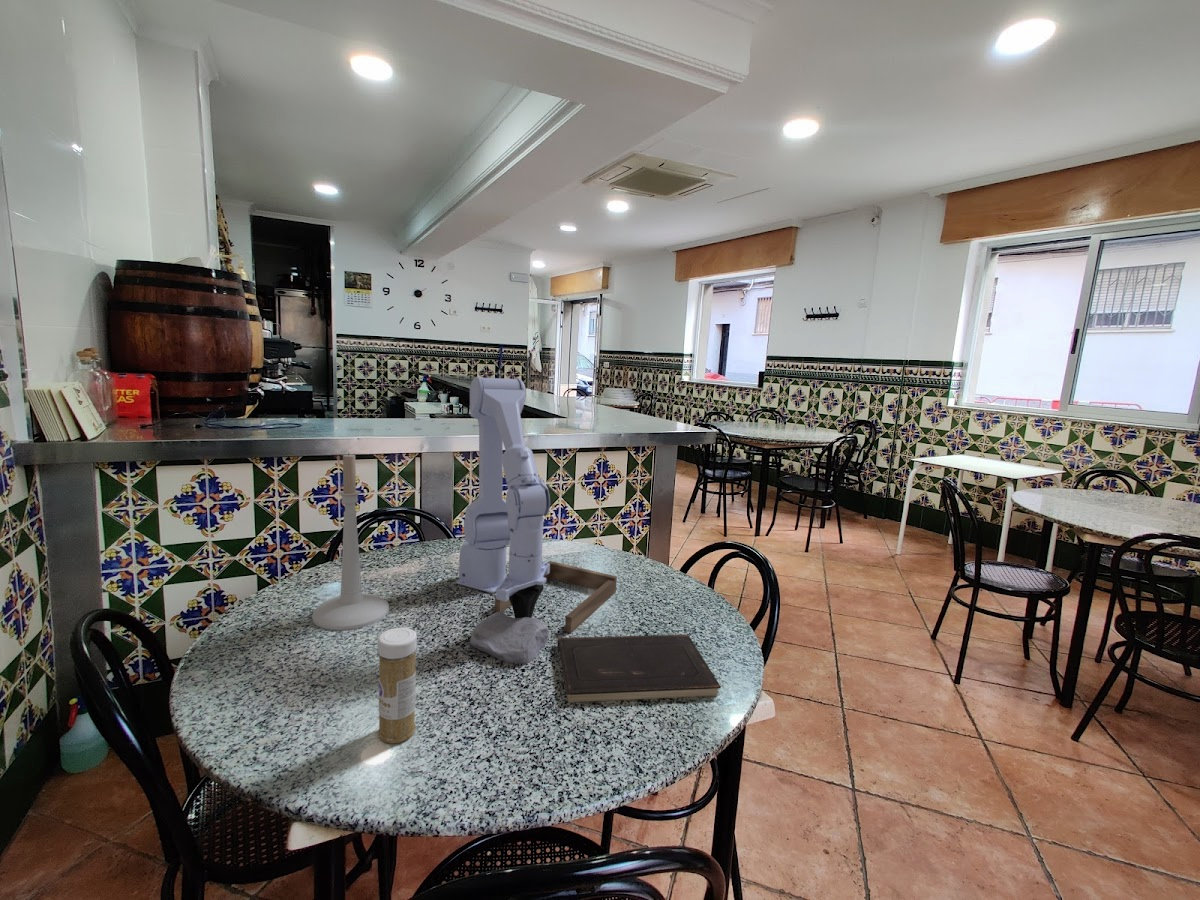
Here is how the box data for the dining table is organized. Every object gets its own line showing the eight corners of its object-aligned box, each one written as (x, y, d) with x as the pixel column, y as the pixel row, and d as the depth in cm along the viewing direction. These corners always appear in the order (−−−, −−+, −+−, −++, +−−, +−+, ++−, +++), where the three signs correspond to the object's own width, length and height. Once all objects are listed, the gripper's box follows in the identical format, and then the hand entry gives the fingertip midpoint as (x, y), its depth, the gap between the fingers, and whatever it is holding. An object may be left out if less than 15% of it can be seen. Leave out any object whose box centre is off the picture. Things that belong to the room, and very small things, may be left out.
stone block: (528, 678, 86) (552, 638, 95) (526, 654, 84) (550, 615, 93) (463, 664, 90) (492, 627, 99) (459, 640, 88) (489, 604, 97)
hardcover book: (719, 700, 81) (720, 686, 81) (566, 707, 77) (567, 692, 77) (686, 644, 97) (687, 632, 96) (557, 648, 93) (557, 636, 92)
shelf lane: (494, 611, 104) (495, 594, 103) (548, 575, 122) (549, 560, 122) (570, 633, 97) (571, 615, 96) (615, 591, 116) (616, 576, 115)
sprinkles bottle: (371, 733, 69) (370, 634, 67) (404, 716, 72) (404, 622, 70) (390, 750, 66) (389, 648, 64) (423, 732, 69) (424, 635, 67)
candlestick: (388, 625, 96) (387, 459, 91) (307, 634, 92) (301, 459, 87) (389, 595, 108) (388, 446, 103) (317, 601, 103) (313, 446, 99)
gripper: (522, 569, 87) (519, 647, 89) (565, 544, 100) (561, 613, 102) (486, 560, 90) (484, 636, 92) (532, 537, 103) (529, 604, 105)
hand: (523, 623), depth 97 cm, fingers closed
